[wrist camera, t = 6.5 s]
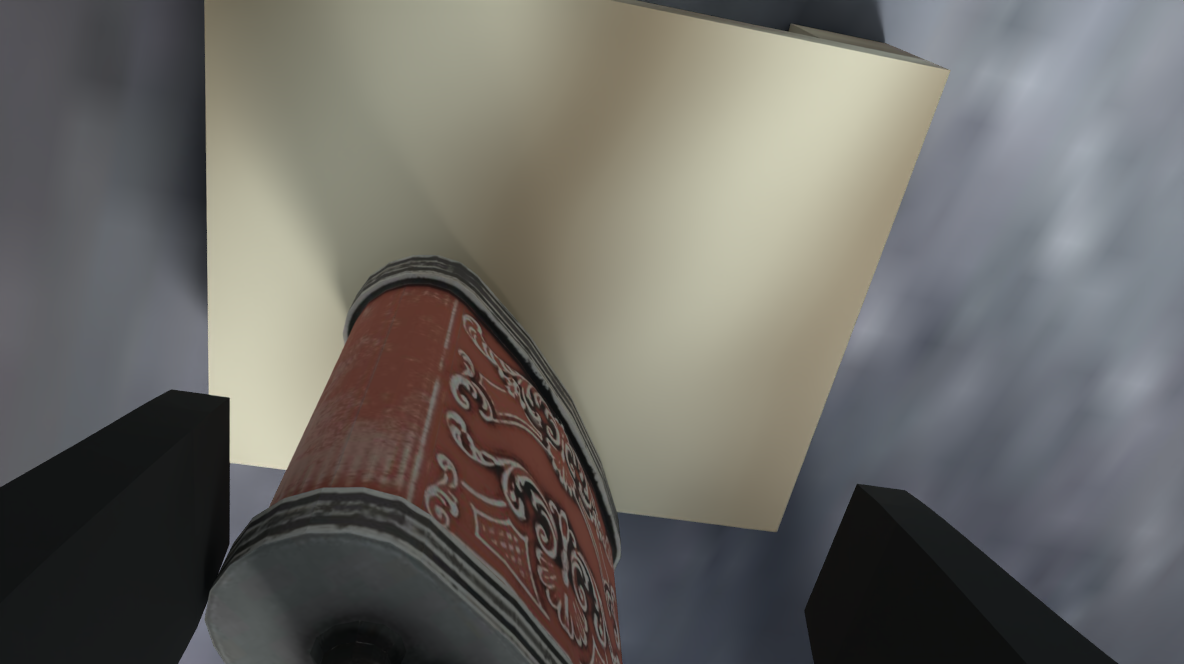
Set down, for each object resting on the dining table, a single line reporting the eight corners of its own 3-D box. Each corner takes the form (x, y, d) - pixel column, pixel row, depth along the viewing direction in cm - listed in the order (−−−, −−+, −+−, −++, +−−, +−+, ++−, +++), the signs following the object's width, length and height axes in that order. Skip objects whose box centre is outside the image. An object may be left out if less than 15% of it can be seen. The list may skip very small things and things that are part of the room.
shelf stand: (886, 43, 17) (950, 70, 14) (747, 452, 21) (776, 532, 18) (264, -87, 15) (203, -84, 12) (256, 383, 20) (209, 460, 17)
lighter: (309, 299, 15) (-22, 845, 6) (472, 222, 15) (354, 703, 6) (513, 591, 19) (480, 1206, 10) (651, 537, 18) (747, 1139, 9)
